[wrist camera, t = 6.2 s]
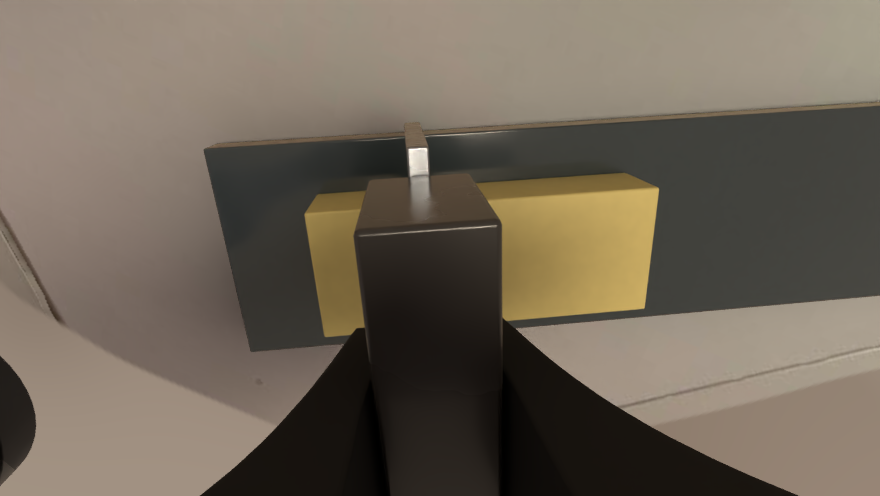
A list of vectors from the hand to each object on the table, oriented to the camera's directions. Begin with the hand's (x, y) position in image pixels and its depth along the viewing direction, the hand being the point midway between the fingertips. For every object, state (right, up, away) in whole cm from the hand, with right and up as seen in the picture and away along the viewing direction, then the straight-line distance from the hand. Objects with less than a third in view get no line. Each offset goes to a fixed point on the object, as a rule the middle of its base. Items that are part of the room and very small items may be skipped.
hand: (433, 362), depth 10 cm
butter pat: (-3, +2, +7) cm, 8 cm away
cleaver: (0, +1, +4) cm, 4 cm away
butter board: (+15, +4, +10) cm, 18 cm away
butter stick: (+4, +3, +8) cm, 9 cm away
